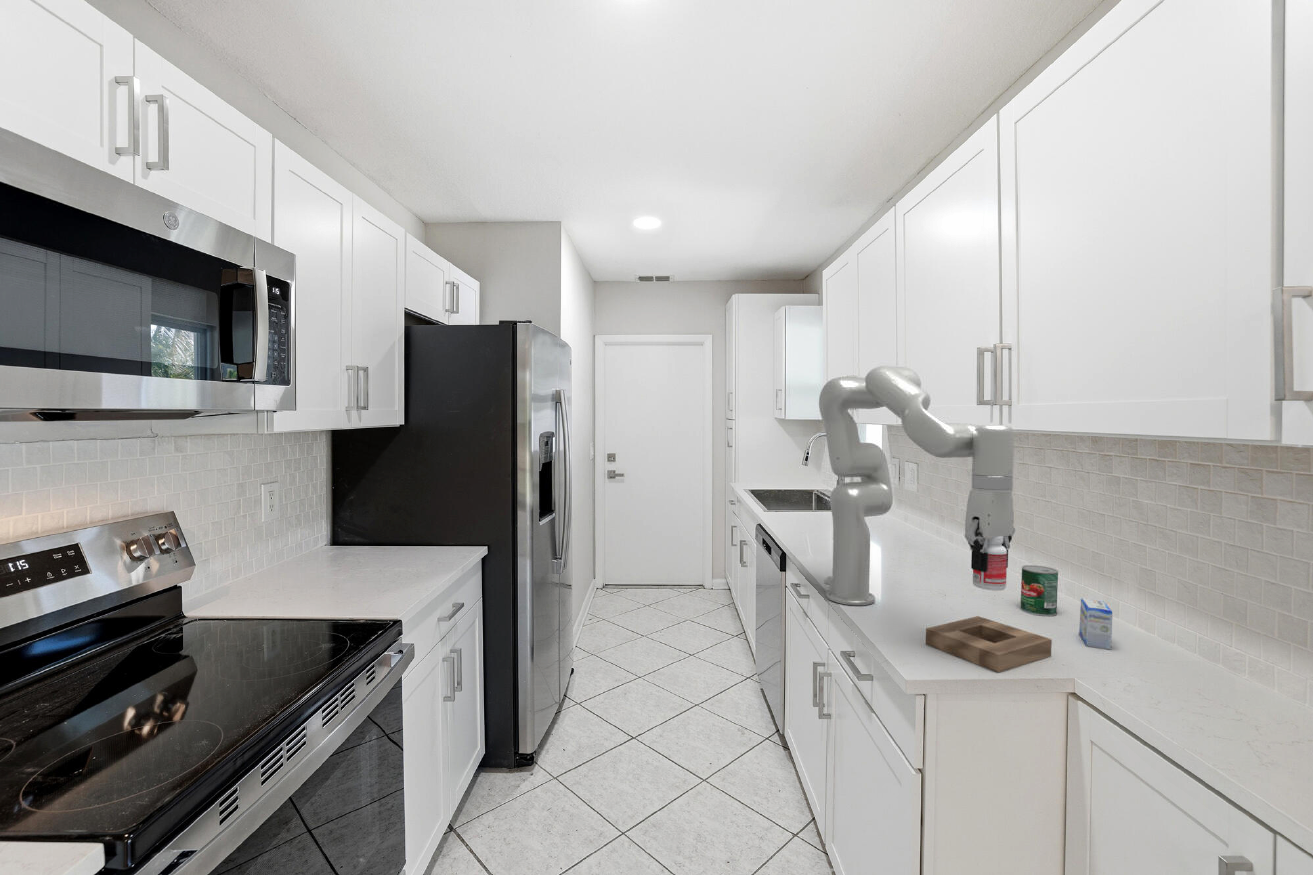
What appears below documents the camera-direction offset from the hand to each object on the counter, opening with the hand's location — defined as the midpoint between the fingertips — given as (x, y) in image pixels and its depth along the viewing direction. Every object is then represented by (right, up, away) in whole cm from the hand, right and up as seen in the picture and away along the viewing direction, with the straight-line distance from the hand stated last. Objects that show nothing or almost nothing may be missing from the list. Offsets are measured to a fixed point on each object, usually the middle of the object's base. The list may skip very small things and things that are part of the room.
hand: (989, 567), depth 124 cm
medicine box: (+27, -18, +6) cm, 33 cm away
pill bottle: (0, -4, 0) cm, 4 cm away
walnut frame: (0, -18, +1) cm, 17 cm away
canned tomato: (+28, -17, +27) cm, 42 cm away
